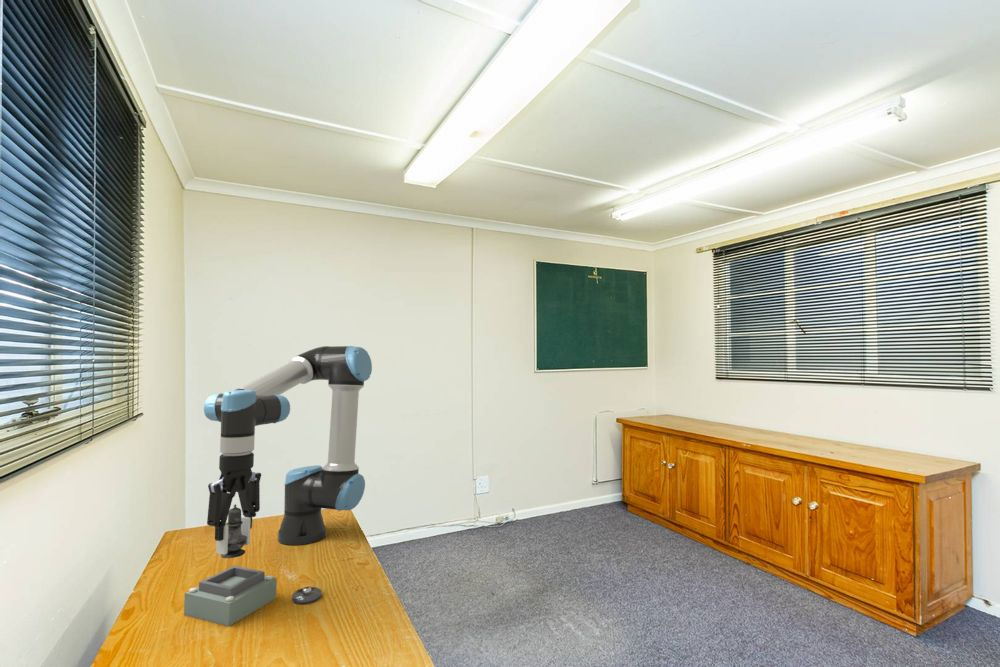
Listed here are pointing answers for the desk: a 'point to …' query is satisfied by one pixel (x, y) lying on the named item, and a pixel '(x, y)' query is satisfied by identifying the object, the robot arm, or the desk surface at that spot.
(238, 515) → the dark metal chess piece
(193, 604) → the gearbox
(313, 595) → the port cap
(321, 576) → the desk surface
